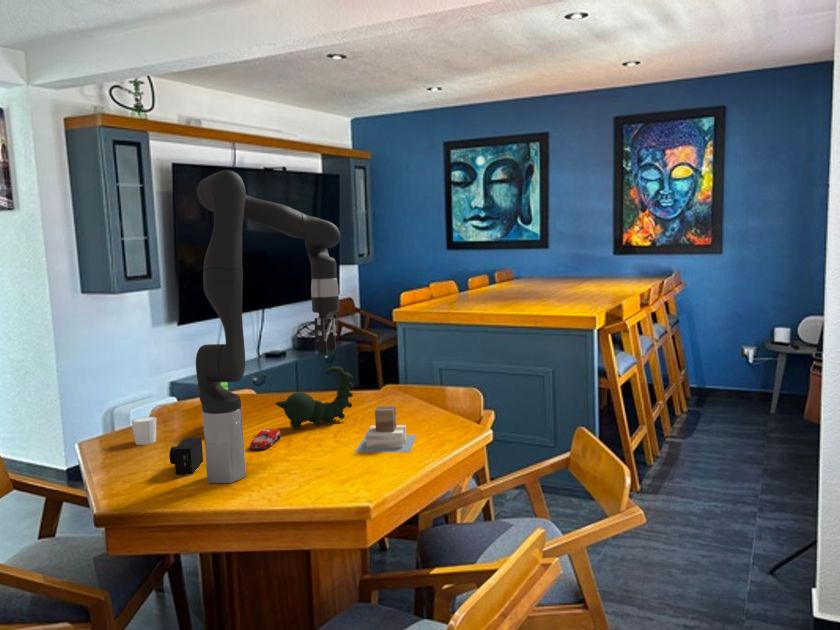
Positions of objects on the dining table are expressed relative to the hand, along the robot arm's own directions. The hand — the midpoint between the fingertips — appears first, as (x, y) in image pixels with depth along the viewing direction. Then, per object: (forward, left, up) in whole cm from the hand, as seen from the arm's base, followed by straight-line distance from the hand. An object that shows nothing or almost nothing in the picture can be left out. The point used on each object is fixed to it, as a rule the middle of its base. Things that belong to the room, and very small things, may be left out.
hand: (327, 352), depth 195 cm
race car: (-1, +19, -27) cm, 33 cm away
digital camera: (-22, +33, -26) cm, 48 cm away
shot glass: (+2, +57, -26) cm, 63 cm away
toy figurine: (+20, +10, -26) cm, 34 cm away
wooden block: (-2, -16, -26) cm, 30 cm away
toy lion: (+17, +38, -26) cm, 49 cm away
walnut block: (-2, -16, -22) cm, 27 cm away
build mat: (-2, -16, -26) cm, 31 cm away
